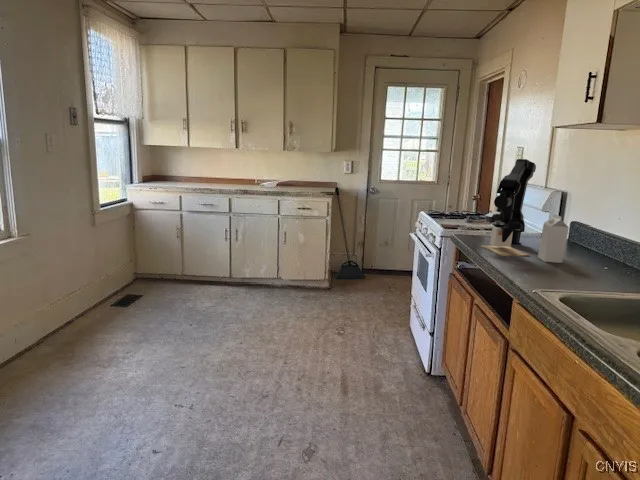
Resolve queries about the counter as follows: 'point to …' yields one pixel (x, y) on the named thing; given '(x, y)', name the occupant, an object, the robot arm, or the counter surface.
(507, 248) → the mat
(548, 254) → the milk carton
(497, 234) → the cream box
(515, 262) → the counter surface
